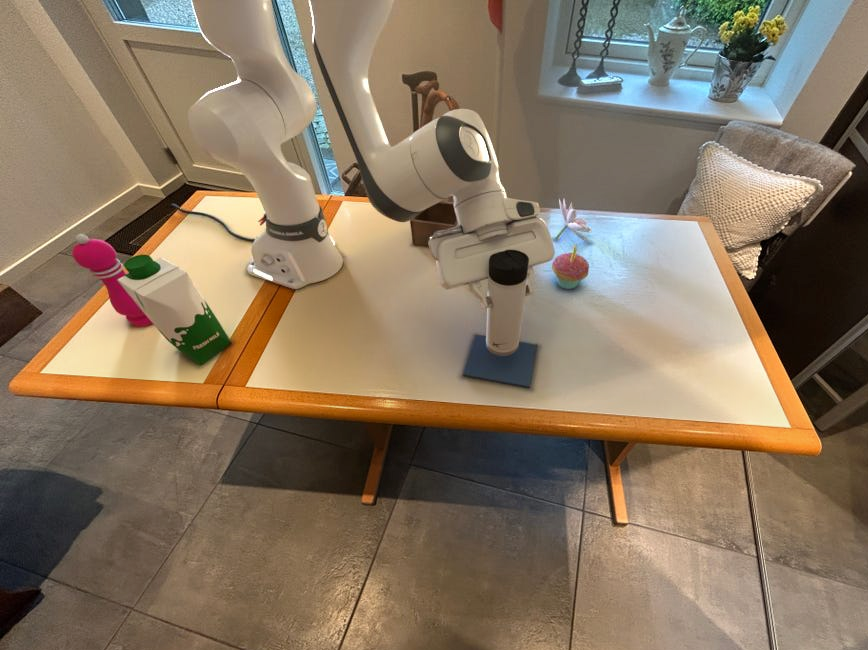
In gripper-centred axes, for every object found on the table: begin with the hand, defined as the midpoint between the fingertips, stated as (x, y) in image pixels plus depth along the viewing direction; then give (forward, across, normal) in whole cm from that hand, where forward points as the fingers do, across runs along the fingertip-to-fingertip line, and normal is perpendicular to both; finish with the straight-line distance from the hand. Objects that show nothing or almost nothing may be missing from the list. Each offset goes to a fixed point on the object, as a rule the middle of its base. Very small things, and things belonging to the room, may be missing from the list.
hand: (508, 301), depth 67 cm
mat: (+11, 0, +12) cm, 16 cm away
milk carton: (-8, -54, +31) cm, 62 cm away
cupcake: (0, +25, +23) cm, 34 cm away
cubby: (-22, +4, +45) cm, 50 cm away
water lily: (-12, +37, +35) cm, 52 cm away
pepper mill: (-19, -65, +41) cm, 79 cm away
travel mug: (+8, 0, +9) cm, 12 cm away
